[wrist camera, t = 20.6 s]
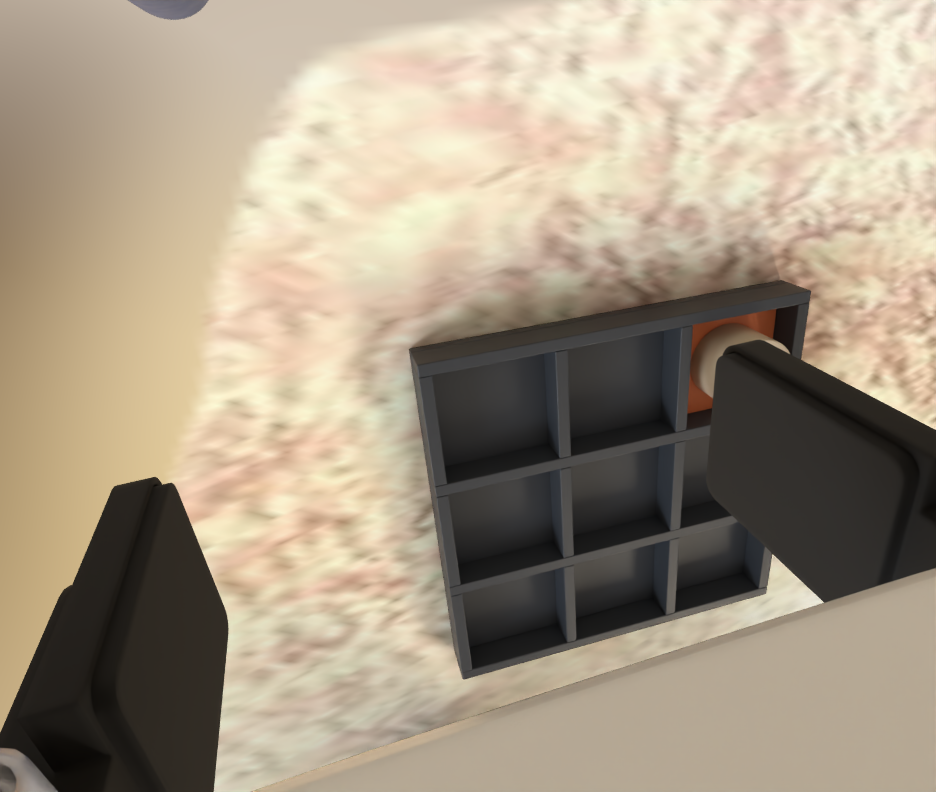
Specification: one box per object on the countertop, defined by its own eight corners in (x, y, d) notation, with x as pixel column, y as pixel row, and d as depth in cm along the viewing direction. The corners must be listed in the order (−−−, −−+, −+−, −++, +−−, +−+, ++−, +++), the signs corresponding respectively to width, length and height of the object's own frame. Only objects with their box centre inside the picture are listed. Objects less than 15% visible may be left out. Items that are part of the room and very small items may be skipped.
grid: (408, 348, 32) (416, 365, 30) (781, 279, 36) (811, 290, 34) (454, 651, 42) (463, 680, 40) (744, 571, 46) (766, 594, 44)
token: (692, 330, 35) (724, 348, 33) (761, 316, 36) (797, 333, 33) (687, 399, 37) (717, 422, 34) (753, 385, 38) (787, 406, 35)
